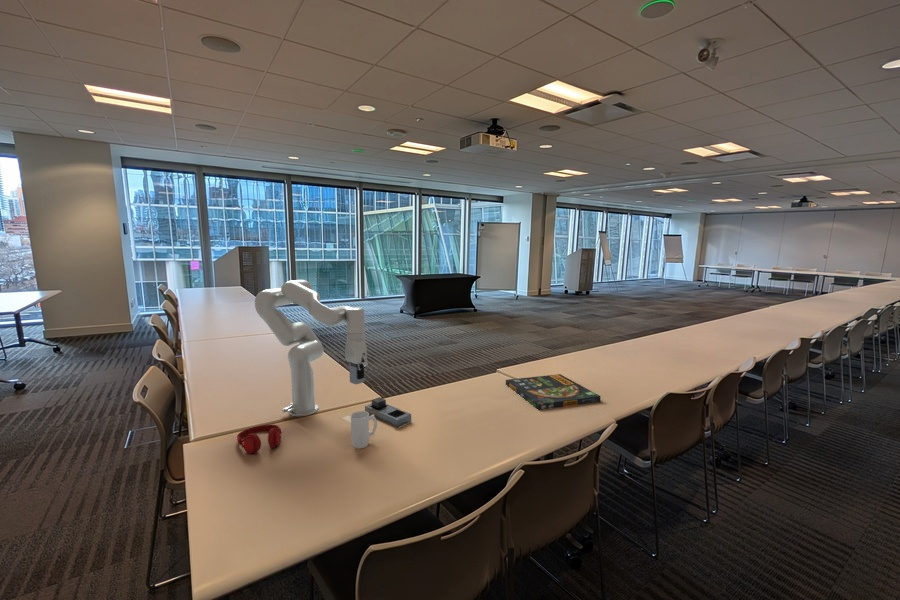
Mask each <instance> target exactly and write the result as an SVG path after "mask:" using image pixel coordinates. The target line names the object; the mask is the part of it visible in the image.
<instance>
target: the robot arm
mask: <svg viewBox="0 0 900 600" xmlns="http://www.w3.org/2000/svg"><path fill="white" fill-rule="evenodd" d="M320 295H321V294H320V293H319V292H317V291H315V290H314V289H313V287H312V285H311V283H310V282H309V281H307V280H306V279H295V280H288V281H286V282H284V283H283V284H282V285H281V287H274V288H268V289H264V290H261V291H260V292H258V293H257V294H256V296H255V299H254V308H255V311H256V313H257V315H258V316H259V317H260V318H261V319H262V320H263V321H264V323H265V324H266V325H267V327H269V329H270V331H271V332H272V333H273V335H274V336H275V337H276V339H277V340H278V341H279V343H280V344H281V345H282V346H285V347H288V346H289V347H291V346H293V345H294V346H293V347H291V348H290V349H289V351H288V353H287V359H288V364H289V368H290V378H291V399H292V401H291V402H290V405H288V406H285V407H282V409H281V413H283V414H284V413H288V414H289V415H290V416H293V417H306V416H310V415H312V414H315V413H317V412H318V411H319V405H317V404H316V401H315V376H314V370H313V367H312V365H311V363H313V362H314V361H316V360H318V359H320V358H322V356H323V354H324V346H323V344H322V342H321V340H320V339H319V337H318V336H317V335H316V334H315V332H314V331H313V330H312V328H311V327H310V326H309V325H308V324H307V323H305V322H303V321H299V322H293V323H292V322H291V320H289V318H288V317H287V315H286V314H284V312H282V311H281V310H279V309H277V307H282V306H283V307H284V306H288V305H291V304H293V303H295V304H297V305H298V306H301V307H302V308H303V309H304V308H305V309H306V310H307V312H308V314H309V315H310V316H311V317H312V318H313V319H314V320H315V321H317V322H319V323H321V324H323V325H325V326H329V327H334V326H338V325H341V324H346V341H345V351H344V354H345V355H344V356H345V357H344V358H345V361H347V363H348V366H349V365H350V362H351V363H354V364H357V366H358V370H357V379H362V378H364V373H365V370H366V367H367V366H368V365H369V362H368V349H367V344H366V343H367V342H366V327H365V325H366V324H365V323H366V321H365V319H366V318H365V317H366V316H365V309H364V308H363V307H360V306H349V305H338V306H334V307H328V306H327V305H325V304H323V303H321V300H320V299H321V296H320ZM295 344H296V345H295ZM361 361H362V362H361ZM360 364H362V365H361V366H360Z"/></svg>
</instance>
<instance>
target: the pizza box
mask: <svg viewBox="0 0 900 600" xmlns="http://www.w3.org/2000/svg"><path fill="white" fill-rule="evenodd" d="M506 385H507V387H508V388H509V387H510V388H511V389H510V388H509V389H510V390H511V391H513V392H514V391H515V392H516V394H517V395H518V394H519V395H520V396H519V395H518V396H519V397H521V398H522V399H523V398H524V399H523V400H525V401H526V402H527V401H528V402H529V403H528V402H527V403H528V404H530V405H531V406H532V405H533V406H532V407H533V408H534V409H536V410H537V409H538V410H537V411H543V410H549V409H550V408H551V409H555V408H556V409H557V408H558V409H559V408H565V406H566V407H571V406H572V407H573V406H580V405H589V404H594V403H600V402H601V395H599V394H598V393H596V392H594V391H592V390H590V389H588V388H586V387H584V386H583V385H581V384H579V383H577V382H576V381H574V380H572V379H571V378H568V377H566V376H564V375H562V374H561V373H560V374H559V373H558V374H549V375H537V376H530V377H520V378H511V379H510V378H509V379H505V386H506ZM515 392H514V393H515ZM551 409H550V410H551Z"/></svg>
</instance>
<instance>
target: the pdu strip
mask: <svg viewBox="0 0 900 600" xmlns="http://www.w3.org/2000/svg"><path fill="white" fill-rule="evenodd" d="M364 411H365V412H368V413H369V416H371V415H373V414H374V416H375V418H376V419H378V420H381V421H383V422H385V423H387V424H390V425H392V426H394V427H396V428H397V429H399V428H401V427H402V426H405V425H407V424H409V423H411V422H412V413H410V412H407V411H405V410H403V409H400V408H398V407H395V406H392V405H390V404H387V400H386V399H385V398H382V397H376V398H374V399H371V403H370V404H366V405H364Z"/></svg>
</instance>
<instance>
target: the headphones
mask: <svg viewBox="0 0 900 600" xmlns="http://www.w3.org/2000/svg"><path fill="white" fill-rule="evenodd" d="M281 429H282V428H281V427H280V426H279V425H277V424H264V425H258V426H257V425H256V426H253V427H250V428H249V427H248V428H247V429H245V430H242V431H241V432H239V433H238V434H237V435H236V440H237V443H238V446H241V447H242V448H243V450H244V451H245V453H247V454H255V453H257V452H259V451H260V449H261V447H262V442H261V438H260V436H259V435H258V434H256V433H260V432H261V433H262V432H268V434H267V443H268V446H269V448H271V449H274V448H276V447H277V446H280V444H281V440H282V433H283V432H282V430H281Z"/></svg>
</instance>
